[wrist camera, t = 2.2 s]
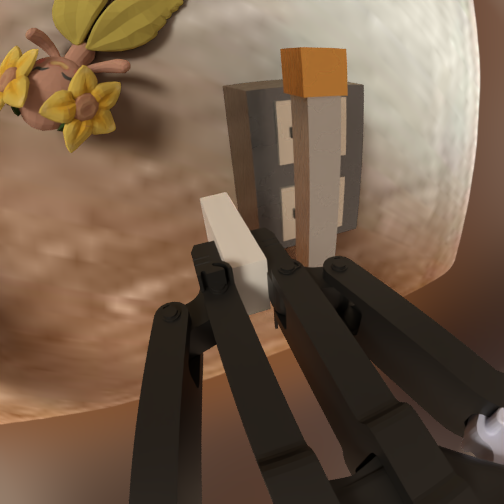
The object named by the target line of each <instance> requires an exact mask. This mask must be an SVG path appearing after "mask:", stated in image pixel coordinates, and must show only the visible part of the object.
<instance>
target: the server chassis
mask: <svg viewBox="0 0 504 504" xmlns="http://www.w3.org/2000/svg"><path fill="white" fill-rule="evenodd" d="M347 88H348V96H341V164H340V190H339V209H338V225H337V234H338V233H341V232H345V231H349V230H352V229H356V226H357V216H358V206H359V194H360V182H361V166H362V147H363V114H364V85H362V84H356V83H351V82H347ZM223 92H224V100H225V108H226V117H227V125H228V133H229V141H230V149H231V157H232V165H233V173H234V181H235V188H236V196H237V204H238V212H239V214H240V216H241V217H242V219H243V221H244V222H245V224H246V225H247V227H248V229H249V230H250V231H251V230H255V229H259V228H263V227H265V228H267V229H268V230H270V231H272V232H273V234H274V235H275V236H276V239H278V241H279V242H280V243H281V245H282V246H283V248H287V247H291V246H295V245H296V225H295V182H294V155H293V132H292V113H291V97H290V94H286V93H284V89H283V80H270V81H259V82H249V83H241V84H233V85H226V86H223Z"/></svg>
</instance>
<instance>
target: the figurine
mask: <svg viewBox="0 0 504 504" xmlns="http://www.w3.org/2000/svg"><path fill="white" fill-rule="evenodd" d="M107 1H108V0H55V1H54V5H53V8H52V16H53V21H54V24H55V26H56V28H57V29H58V30H59V31H60V33H61V34H62V35H63V36H64V37H65V38H67V39H68V40H69V41H70V42H71V43H72V45H71V47H70V49H69V50H68V52H67V53H66V55H65V56H64V57H61V56H60V54H59V52H58V49H57V48H56V46H55V45H54V43H53V42H52V41H51V40H50V38H49V37H48V36H47V35H46V34H45V33H44V32H42V31H40V30H38V29H37V28H31V29H29V30H28V31H27V33H26V35H25V36H26V38H27V39H28V40H30V41H32V42H33V43H35V44H36V45H38V46H39V47H40V48H42V49H43V50H44V51H45V52H46V53H47V54H49V55H50V57H45V58H42V59H39V60H37V61H36V58H37V55H38V50H39V49H31V50H29V51H27V52H26V53H24V54H23V55H22V52H21V50H20V48H19V47H18V46H15V47H14V48H12V49H11V50H10V52H9V53H8V54H7V56H6V57H5V59H4V60H3V62H2V64H1V66H0V110H1V109H2V108H3V106H4V104H5V103H6V104H7V105H10V106H11V108H12V110H13V112H14V114H16V115H17V116H19V115H20V114H21V115H22V117H23V119H24V121H25V122H27V123H28V124H29V125H30V126H31V127H33V128H36V129H39V130H42V131H44V130H53V129H58V130H57V131H62V132H63V134H64V139H65V144H66V147H67V149H68V150H69V152H70V153H72V152H73V151H75V150H76V149H77V148H78V147H79V146H80V145H81V144H82V143H83V142H84V141H85V140H86V139H87V138H88V137H89V136H90V135H91V134H94V135H96V134H107V133H110V132H113V131H114V130H116V126H115V123H114V120H113V117H112V114H111V111H110V109H111V108H112V107H113V106H114V105H115V104H116V102H117V100H118V97H119V95H120V91H121V83H120V82H104V83H99V84H97V81H98V80H97V78H96V76H95V74H94V73H101V72H108V73H126V72H127V71H129V69H130V63H129V62H128V61H127V60H122V59H114V60H109V61H104V62H99V63H95V64H91V65H88V64H90V63H91V62H92V61H93V60H94V57H95V51H102V52H114V51H124V50H129V49H134V48H136V47H139V46H141V45H144V44H146V43H147V42H149V41H150V40H152V39H153V38H155V37H156V36H157V35H158V32H157V31H159V30H160V29H161V28H162V27H163V26H164V25H165V24H166V22H167V21H166V19H168V18H170V17H171V15H172V13H173V12H175V11H177V10H178V9H179V6H181V5H182V4H183V0H115V1H113V2H112V3H111V4H110V5H109V6H108V7H107V8H106V9H105V11H104V12H103V13H102V14H101V16H100V17H99V18H98V20H97V21H96V23H95V25H94V27H93V29H92V31H91V34H90V36H89V38H88V41H87V42H84V39H85V38H86V36H87V34H88V32H89V30H90V28H91V27H92V25H93V23H94V21H95V20H96V18H97V16H98V15H99V13H100V12H101V11H102V9H103V8H104V6H105V5H106V3H107ZM87 65H88V66H87Z"/></svg>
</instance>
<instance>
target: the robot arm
mask: <svg viewBox="0 0 504 504" xmlns="http://www.w3.org/2000/svg"><path fill="white" fill-rule="evenodd" d="M200 202H201V207H202V212H203V217H204V222H205V227H206V232H207V237H208V241H209V242H206V243H202V244H198V245H194V246H193V249H192V252H191V255H192V258H193V262H194V266H195V270H196V274H197V278H198V281H199V285H200V291H199V294H198V295H197V297H196V298H195V299H194V300H192V301H191V302H189V303H188V304H186V305H184V304H182V303H180V302H170V303H166V304H165V305H163V306H161V307H160V308H159V309H158V310H157V311H156V313H155V315H154V320H153V325H152V330H151V335H150V340H149V346H148V351H147V357H146V363H145V368H144V374H143V381H142V387H141V394H140V400H139V407H138V415H137V423H136V431H135V440H134V449H133V458H132V469H131V483H130V497H129V504H202V481H201V425H202V424H201V423H202V421H201V420H202V378H203V352H205V351H206V350H208V349H210V348H211V347H213V346H215V345H216V344H217V347H218V351H219V354H220V357H221V360H222V363H223V366H224V370H225V373H226V376H227V379H228V382H229V385H230V388H231V391H232V394H233V397H234V400H235V403H236V406H237V409H238V411H239V414H240V417H241V420H242V423H243V426H244V428H245V431H246V434H247V437H248V439H249V442H250V445H251V448H252V450H253V453H254V455H255V458H256V461H257V463H258V466H259V469H260V471H261V474H262V477H263V479H264V481H265V484H266V487H267V489H268V491H269V494H270V497H271V499H272V502H273V504H504V373H502V372H499V371H497V370H495V369H494V368H493V367H492V366H491V365H489V364H488V363H487V362H486V361H485V360H483V359H482V358H481V357H479V356H478V355H477V354H476V353H475V352H473V351H472V350H471V349H470V348H468V347H467V346H466V345H465V344H463V343H462V342H461V341H459V340H458V339H457V338H456V337H455V336H453V335H452V334H451V333H449V332H448V331H447V330H446V329H444V328H443V327H442V326H440V325H439V324H438V323H437V322H435V321H434V320H433V319H431V318H430V317H429V316H427V315H426V314H425V313H423V312H422V311H421V310H419V309H418V308H417V307H415V306H414V305H413V304H411V303H410V302H409V301H407V300H406V299H405V298H403V297H402V296H401V295H399V294H398V293H397V292H395V291H394V290H392V289H391V288H390V287H388V286H387V285H386V284H384V283H383V282H381V281H380V280H379V279H377V278H376V277H374V276H373V275H372V274H370V273H369V272H367V271H366V270H365V269H363V268H362V267H360V266H359V265H357V264H356V263H355V262H353V261H352V260H350V259H348V258H346V257H342V256H333V257H330V258H328V259H326V260H325V261H324V264H323V267H304V266H303V264H302V263H300V262H299V261H297V260H294V259H291V257H290V256H289V255H288V253H287V252H286V250H285V249H284V248H283V246H282V245H281V243H280V242H279V241H278V239H276V236H275V235H274V234H273V232H272V231H270V230H268V229H267V228H265V227H263V228H259V229H255V230H251V231H250V230H249V229H248V227H247V225H246V224H245V222H244V221H243V219H242V217H241V216H240V214H239V212H238V211H237V209H236V207H235V206H234V204H233V202H232V201H231V199H230V197H229V196H228V194H227V193H226V192H225V193H220V194H216V195H212V196H207V197H203V198H200ZM270 301H271V303H272V305H273V307H274V321H275V328H276V329H277V328H278V324H279V326H280V328H281V330H282V332H283V334H284V336H285V338H286V340H287V342H288V344H289V346H290V348H291V350H292V352H293V354H294V356H295V358H296V360H297V362H298V364H299V366H300V368H301V369H302V371H303V373H304V375H305V377H306V379H307V381H308V383H309V385H310V387H311V389H312V391H313V393H314V395H315V397H316V399H317V401H318V402H319V404H320V406H321V408H322V410H323V412H324V414H325V416H326V418H327V420H328V422H329V424H330V426H331V428H332V429H333V432H334V433H335V435H336V437H337V439H338V441H339V443H340V445H341V447H342V450H343V456H344V460H345V463H346V465H347V467H348V469H349V471H350V473H351V475H352V476H349V477H345V478H340V479H335V480H330V481H329V480H328V479H327V477H326V474H325V472H324V470H323V468H322V466H321V464H320V462H319V460H318V458H317V457H316V455H315V453H314V452H313V450H312V449H311V448H310V447H309V446H308V445H307V444H306V442H305V440H304V438H303V436H302V434H301V432H300V429H299V427H298V425H297V423H296V421H295V419H294V417H293V414H292V412H291V410H290V408H289V406H288V404H287V401H286V399H285V397H284V395H283V393H282V391H281V388H280V386H279V384H278V382H277V379H276V377H275V375H274V373H273V370H272V368H271V366H270V364H269V362H268V359H267V357H266V355H265V352H264V350H263V348H262V346H261V343H260V341H259V339H258V337H257V334H256V332H255V330H254V327H253V325H252V323H251V320H250V318H249V316H248V315H251V314H255V313H258V312H261V311H265V310H268V309H270ZM370 360H371V361H372V362H373V363H374V364H375V365H376V366H377V367H378V368H380V369H381V370H382V371H383V372H384V373H385V374H386V375H387V376H388V377H389V378H390V379H391V380H393V381H394V382H395V383H396V384H397V385H398V386H399V387H400V388H401V389H402V390H403V391H405V392H406V393H407V394H408V395H409V396H410V397H411V398H412V399H413V400H415V401H416V402H417V403H418V404H419V405H420V406H421V407H422V408H423V409H424V410H425V411H427V412H428V413H429V414H430V415H431V416H432V417H433V418H434V419H435V420H436V421H438V422H439V423H440V424H441V425H443V426H444V427H445V428H446V429H448V430H450V431H451V432H453V433H454V434H457V435H459V436H461V437H463V440H462V443H461V447H462V449H463V450H464V451H465V452H472V453H473V454H474V455H475V456H476V457H473V456H469V455H466V454H463V453H459V452H456V451H453V450H450V449H447V448H444V447H441V446H438V445H437V443H436V442H435V440H434V439H433V437H432V436H431V434H430V433H429V431H428V429H427V428H426V426H425V425H424V423H423V422H422V420H421V419H420V417H419V416H418V414H417V413H416V411H415V410H414V409H413V408H412V406H411V405H409V404H408V403H405V402H399V401H398V400H397V399H396V398H395V397H394V396H393V394H392V393H391V391H390V389H389V388H388V387H387V385H386V383H385V382H384V381H383V379H382V378H381V376H380V374H379V373H378V371H377V370H376V369H375V367H374V366H373V364H372V363H371V361H370Z"/></svg>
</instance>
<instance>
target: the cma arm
mask: <svg viewBox="0 0 504 504" xmlns="http://www.w3.org/2000/svg"><path fill="white" fill-rule="evenodd" d="M280 51H281V63H282V75H283V89H284V93H286V94H290V97H291V113H292V132H293V155H294V182H295V225H296V260H297V261H299V262H300V263H302V264H303V266H304V267H323V264H324V261H325V260H326V259H328V258H330V257H333V256H335V250H336V238H337V225H338V209H339V190H340V164H341V96H348V88H347V58H346V49H337V48H309V47H300V48H287V49H280Z"/></svg>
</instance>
